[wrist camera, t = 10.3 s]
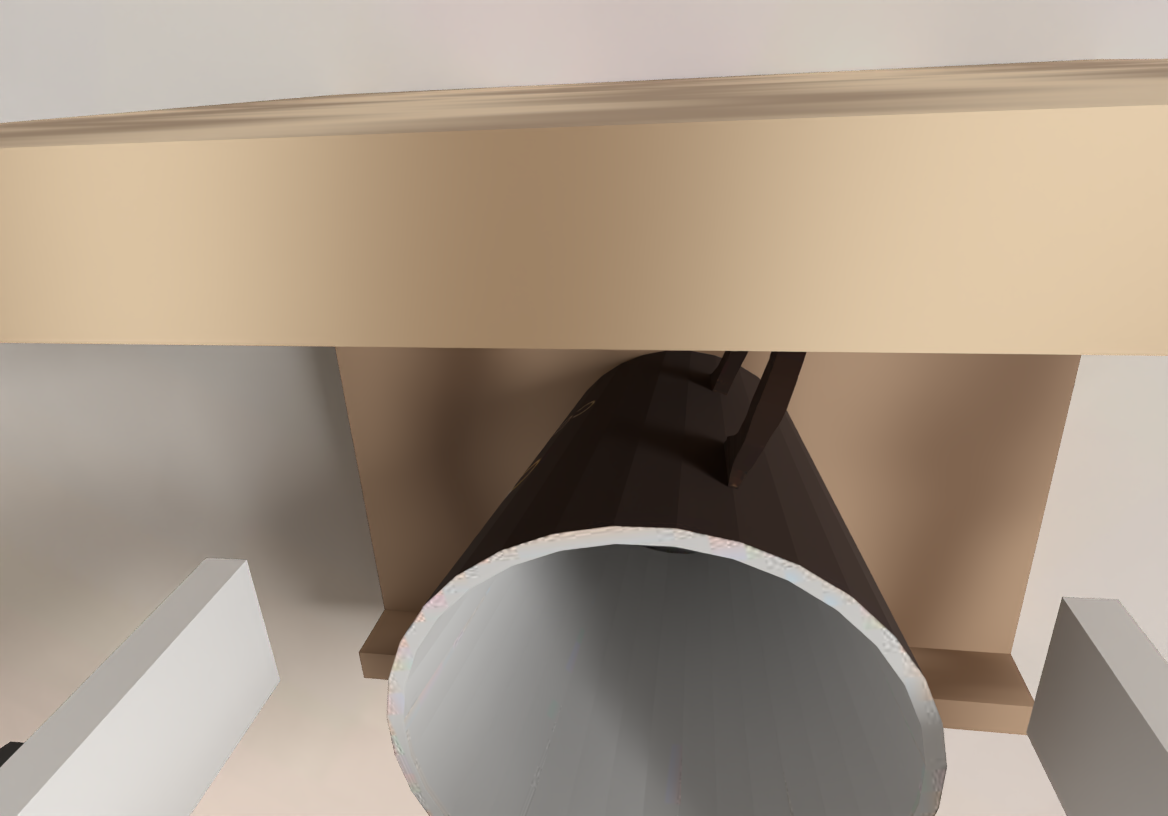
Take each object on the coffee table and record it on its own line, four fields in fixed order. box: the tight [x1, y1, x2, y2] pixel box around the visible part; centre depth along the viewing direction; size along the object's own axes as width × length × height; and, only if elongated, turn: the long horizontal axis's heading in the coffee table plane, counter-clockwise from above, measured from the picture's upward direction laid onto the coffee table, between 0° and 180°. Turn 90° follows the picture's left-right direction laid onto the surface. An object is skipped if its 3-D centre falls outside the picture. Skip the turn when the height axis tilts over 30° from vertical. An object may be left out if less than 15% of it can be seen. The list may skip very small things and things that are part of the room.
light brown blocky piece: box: [0, 59, 1168, 735], centre depth 15 cm, size 19×16×16 cm
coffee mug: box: [387, 351, 947, 816], centre depth 16 cm, size 12×9×10 cm
